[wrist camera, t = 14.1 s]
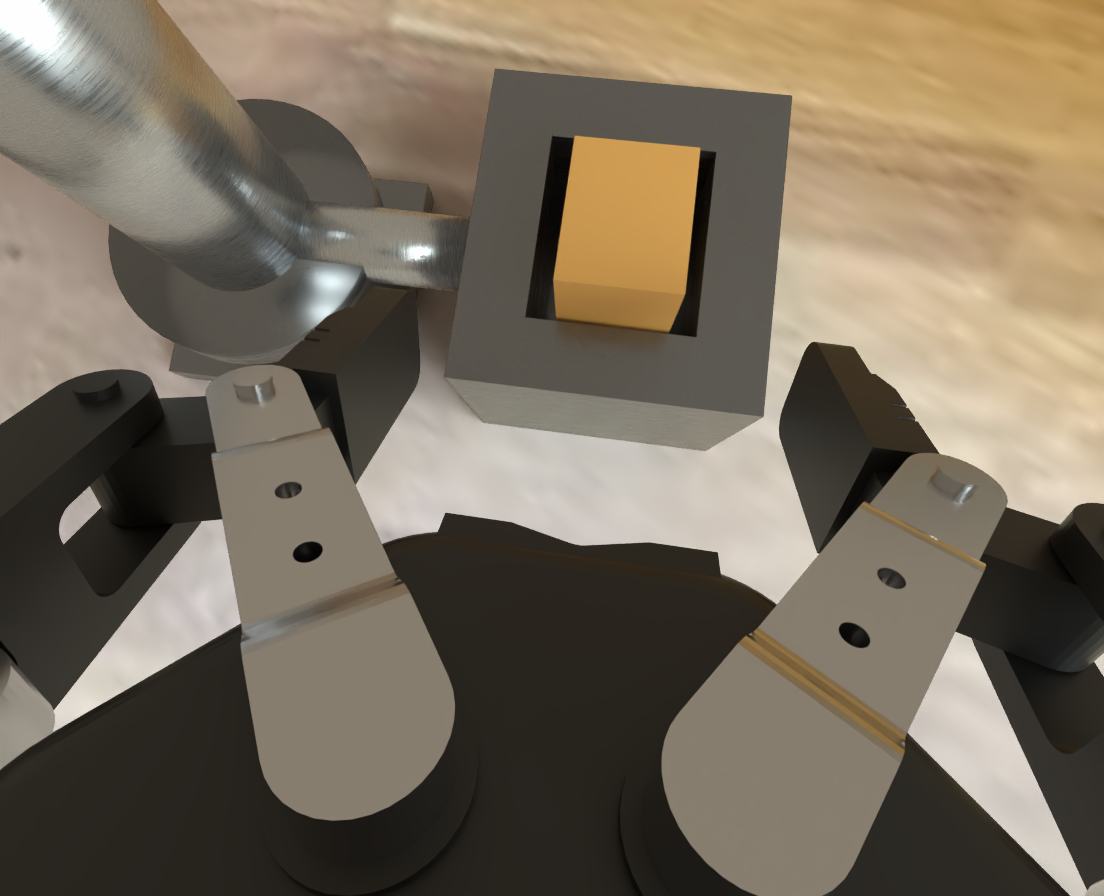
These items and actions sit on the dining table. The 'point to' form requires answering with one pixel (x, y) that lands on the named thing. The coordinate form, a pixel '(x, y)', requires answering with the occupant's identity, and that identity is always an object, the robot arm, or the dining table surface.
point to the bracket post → (399, 222)
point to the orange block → (625, 234)
